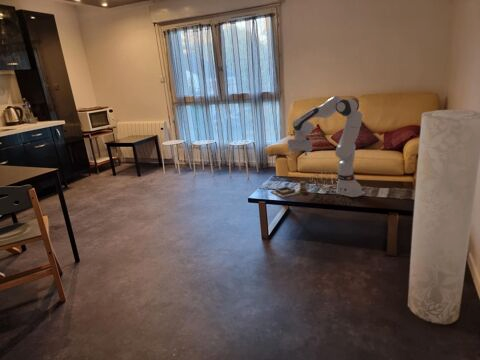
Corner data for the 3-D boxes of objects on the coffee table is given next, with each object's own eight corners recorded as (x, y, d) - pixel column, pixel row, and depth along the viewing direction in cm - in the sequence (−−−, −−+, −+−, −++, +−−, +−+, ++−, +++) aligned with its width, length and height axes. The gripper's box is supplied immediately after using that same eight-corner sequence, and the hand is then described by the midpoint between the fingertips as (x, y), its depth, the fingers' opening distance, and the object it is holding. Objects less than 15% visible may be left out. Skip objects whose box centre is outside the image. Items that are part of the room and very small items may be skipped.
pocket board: (299, 193, 270) (299, 189, 269) (282, 198, 263) (282, 194, 262) (288, 188, 284) (287, 184, 284) (270, 192, 278) (270, 188, 277)
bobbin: (308, 191, 272) (308, 182, 270) (302, 193, 270) (302, 183, 268) (304, 189, 278) (303, 180, 275) (298, 191, 275) (297, 182, 273)
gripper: (288, 137, 279) (288, 152, 274) (312, 139, 280) (313, 154, 275) (286, 140, 285) (287, 155, 280) (310, 142, 286) (311, 157, 281)
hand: (300, 155), depth 278 cm, fingers open, 8 cm apart
